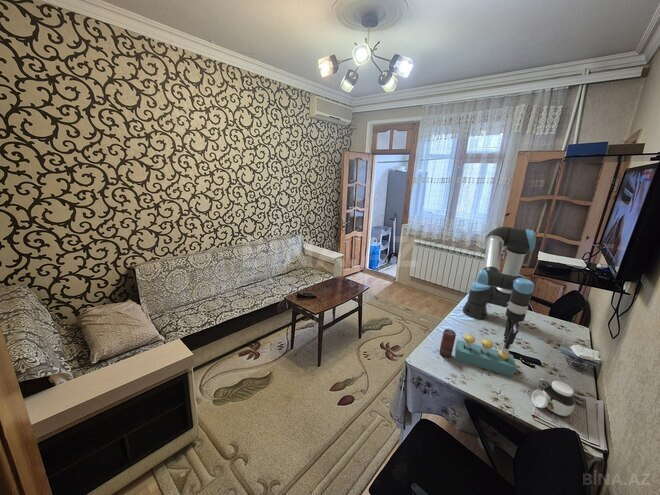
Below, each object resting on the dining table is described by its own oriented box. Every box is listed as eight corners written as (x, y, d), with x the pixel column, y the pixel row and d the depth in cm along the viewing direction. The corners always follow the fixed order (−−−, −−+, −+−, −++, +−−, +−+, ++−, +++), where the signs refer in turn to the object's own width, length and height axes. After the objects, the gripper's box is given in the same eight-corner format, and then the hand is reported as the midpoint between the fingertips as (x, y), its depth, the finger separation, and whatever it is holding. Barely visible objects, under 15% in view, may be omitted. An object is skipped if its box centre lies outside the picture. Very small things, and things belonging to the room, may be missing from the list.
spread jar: (573, 416, 110) (582, 394, 107) (556, 424, 106) (565, 401, 103) (542, 393, 121) (550, 372, 117) (525, 400, 117) (533, 378, 113)
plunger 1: (462, 345, 143) (464, 333, 141) (472, 348, 142) (475, 335, 139) (462, 350, 139) (465, 338, 137) (472, 353, 137) (475, 341, 135)
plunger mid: (478, 349, 140) (481, 337, 138) (489, 352, 139) (492, 340, 136) (479, 355, 136) (482, 343, 134) (490, 358, 134) (493, 345, 132)
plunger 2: (494, 360, 138) (498, 348, 136) (505, 363, 136) (508, 351, 134) (495, 366, 134) (499, 354, 132) (506, 369, 132) (510, 357, 130)
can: (436, 352, 145) (440, 330, 140) (445, 349, 147) (449, 327, 143) (444, 359, 139) (449, 336, 135) (453, 356, 142) (458, 334, 138)
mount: (455, 348, 148) (457, 339, 146) (509, 364, 138) (512, 354, 136) (455, 359, 139) (457, 350, 138) (513, 377, 129) (516, 367, 128)
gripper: (505, 302, 133) (494, 342, 140) (509, 315, 122) (497, 358, 129) (522, 306, 130) (510, 347, 137) (529, 319, 119) (515, 363, 126)
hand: (504, 352), depth 133 cm, fingers closed
